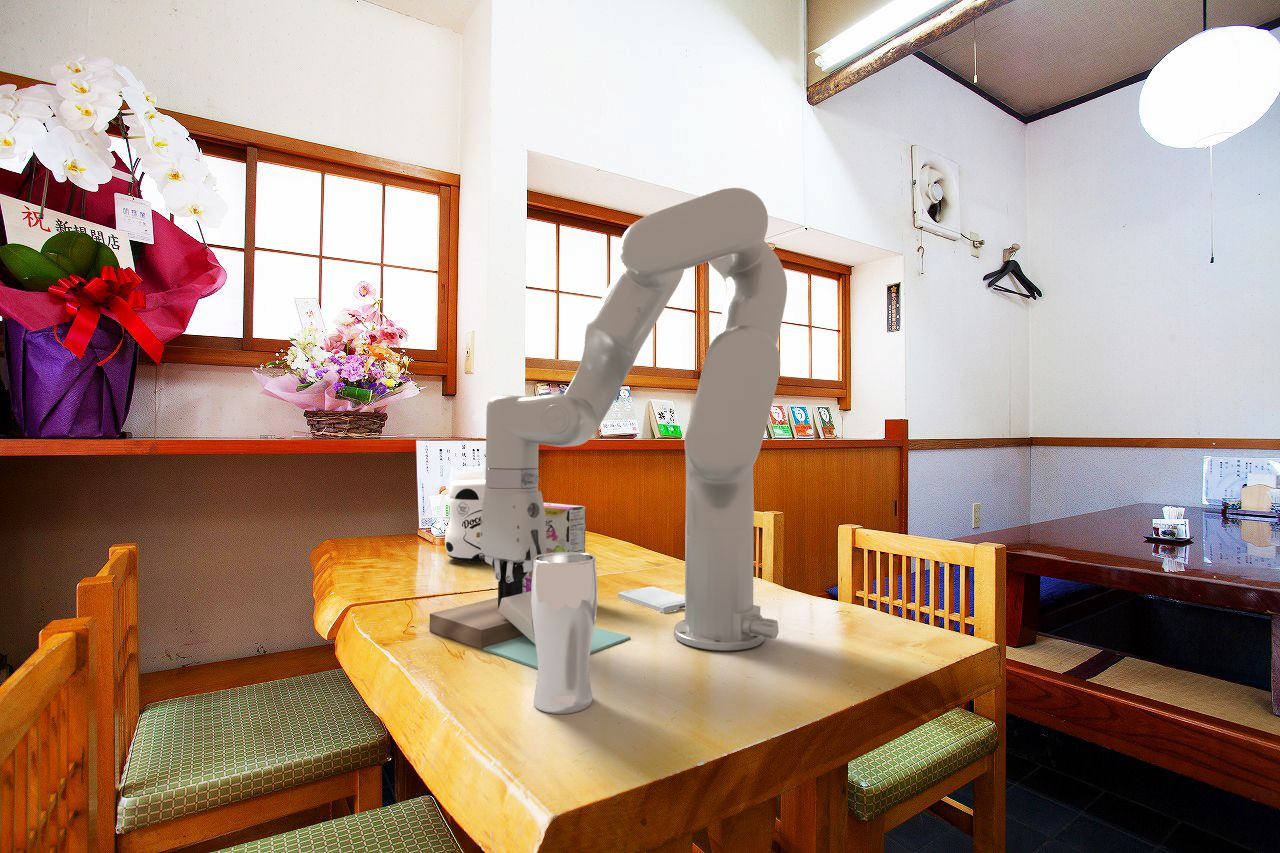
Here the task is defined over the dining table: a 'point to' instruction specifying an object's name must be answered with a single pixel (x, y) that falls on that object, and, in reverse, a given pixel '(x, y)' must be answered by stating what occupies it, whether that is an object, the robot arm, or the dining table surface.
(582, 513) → the candy bar box
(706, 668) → the dining table surface
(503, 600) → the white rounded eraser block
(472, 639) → the block
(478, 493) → the doce de leite container
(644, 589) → the hard drive
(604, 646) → the mat
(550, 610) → the beer glass
